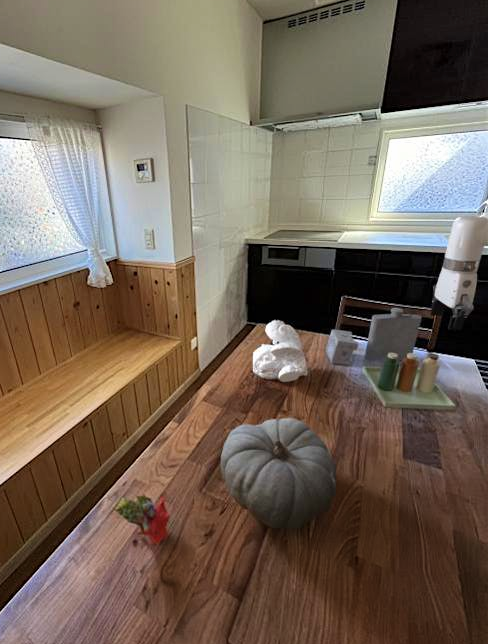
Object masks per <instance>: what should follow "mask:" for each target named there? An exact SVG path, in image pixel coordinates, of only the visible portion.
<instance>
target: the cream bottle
mask: <svg viewBox="0 0 488 644" xmlns="http://www.w3.org/2000/svg"><path fill="white" fill-rule="evenodd" d="M439 358H440V356H439V355H438V354H436V353H434V352H433V353H431V352H430V353H428V354H427V358H423V360H422V363H421V367H420V368H421V370H420V374H419V377H418V381H417V385H416V388H417V389H418V390H419V391H421V392H425V393H431V392H432V391H433V388H434V384H435V383H436V381H437V378H438V374H439V370H440V368H441V362H440V361H439Z"/></svg>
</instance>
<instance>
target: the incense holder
mask: <svg viewBox="0 0 488 644" xmlns="http://www.w3.org/2000/svg"><path fill="white" fill-rule="evenodd" d="M329 334H330V335H329V338H328V341H327V344H326V347H325V352H326V354H327V357H328V359H329V362H330V363H331V364H337V365H344V366H352V365H353V361H352V356H353V354H354V351H356V350H357V349H358V347H359V342H357V341H356V340H354V339H353V337H352V335H353V332H352V331H349V330H348V331H347V330H340V329H334V328H333V329H331V331H330V333H329Z"/></svg>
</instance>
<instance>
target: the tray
mask: <svg viewBox="0 0 488 644" xmlns="http://www.w3.org/2000/svg"><path fill="white" fill-rule="evenodd" d="M400 368H401V366H399V368H398V372H397V376H396V381H395V385H394V389H393V391H383V390H381V389H380V388H379V387H378V383H379V378H380V373H381V369H382V366H362V369H361V371H362V372H363V375H364V376H365V377H366V380H367V381H368V382H369V384H370V386H371V387H372V389H373V390H374V392H375V394H376V396H377V397H378V399H379V401H380V403H381V404H382V406H383V407H384V408H395V409H421V410H442V411H443V410H444V411H455V409H456V407H457V405H456V404H455V403H454V402H453V401H452V400H451V399H450V397H448V395H447V394H446V392H444V391H443V389H441V387H439V385H438V384H437V383H436V382H435V384H434V388H433V391H432V392H431V393H425V392H421V391H419V390H418V389H417V388H416V385H417V381H418V377H419V374H420V370H421V367H418V370H417V373H416V377H415V381H414V385H413V388H412V391H411V392H403V391H400V390H398V389H397V388H396V384H397V380H398V376H399V372H400Z"/></svg>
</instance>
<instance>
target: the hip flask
mask: <svg viewBox="0 0 488 644" xmlns="http://www.w3.org/2000/svg"><path fill="white" fill-rule="evenodd" d="M390 312H391V313H384V314H373V315H372V316H371V322H370V327H369V333H368V338H367V344H366V348H365V354H364V359H365V360H367V361H371V362H372V361H383V360H384V358H388V353H396V354H397V355H398V357H397V360H398V361H402V360H403V359H404V358H407V354H408V353H414V349H415V345H416V341H417V338H418V334H419V330H420V326H421V322H422V318H423V317H422V316H421V315H419V314H411V313H404V309H402V308H400V307H392V308H391V309H390Z"/></svg>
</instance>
